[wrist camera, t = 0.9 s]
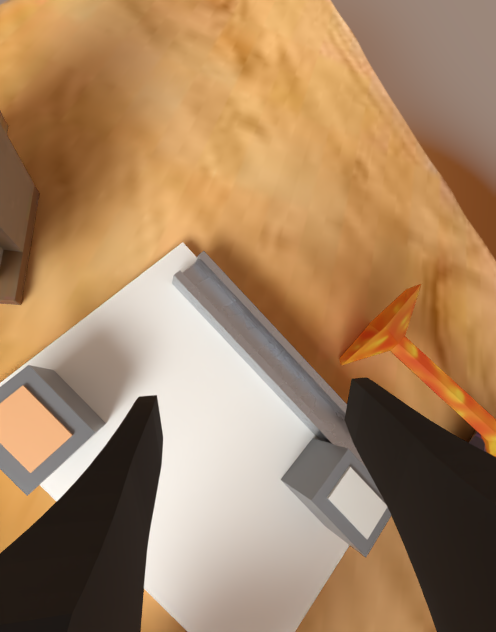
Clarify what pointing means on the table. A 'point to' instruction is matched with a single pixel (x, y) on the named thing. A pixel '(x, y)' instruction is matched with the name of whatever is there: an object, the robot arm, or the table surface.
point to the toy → (14, 219)
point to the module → (41, 425)
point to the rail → (265, 350)
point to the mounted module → (339, 493)
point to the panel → (200, 459)
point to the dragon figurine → (421, 365)
